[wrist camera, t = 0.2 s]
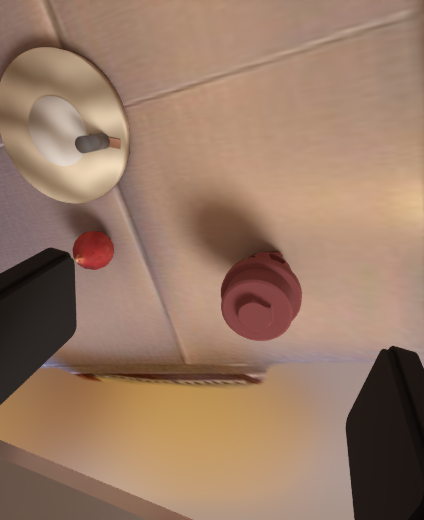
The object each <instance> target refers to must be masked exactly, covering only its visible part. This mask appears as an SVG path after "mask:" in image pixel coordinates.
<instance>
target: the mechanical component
mask: <svg viewBox="0 0 424 520" xmlns="http://www.w3.org/2000/svg"><path fill="white" fill-rule="evenodd" d="M221 299H222V303H221V310H222V315H223V317H224V320H225V321H226V323H227V324H228V326H229V327H230V328H231V329H232V330H233V331H235V332H236V333H237V334H239V335H241V336H242V337H245V338H247V339H251V340H257V341H266V340H271V339H274V338H277V337H279V336H280V335H282V334H283V333H284V332H285V331H286V330H287V329H288V328H289V326H290V324H291V321H292V320H294V318H295V317H296V316H297V314H298V312H299V310H300V307H301V299H302V292H301V286H300V283H299V281H298V279H297V277H296V276H295V274H294V273H293V272H292V271H291V269H290V266H289V265H288V263H287V262H286V261H285V260H284V259H283V258H282V254H281V253H280V252H277V251H276V252H273V253H271V252H260V253H256V254H254V255H252V256H250V257H249V258H247V259H245V260H242V261H240V262H238V263H237V264H235V265H234V266H233V267H232V268H231V269H230V270H229V271H228V273H227V275H226V276H225V278H224V280H223V283H222V287H221Z"/></svg>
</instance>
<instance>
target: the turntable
mask: <svg viewBox="0 0 424 520" xmlns="http://www.w3.org/2000/svg"><path fill="white" fill-rule="evenodd" d="M0 134H1V137H2V140H3V143H4V146H5V148H6V150H7V152H8V154H9V156H10V158H11V160H12V161H13V163H14V165H15V166H16V168H17V169H18V170H19V172H20V173H21V174H22V175H23V176H24V177H25V179H26V180H27V181H28V182H29V183H30V184H32V185H33V186H34V187H35V188H36V189H38V190H39V191H40V192H42V193H44V194H45V195H47V196H49V197H51V198H53V199H56V200H59V201H62V202H67V203H84V202H88V201H91V200H94V199H96V198H98V197H100V196H102V195H104V194H106V193H107V192H109V191H110V190H111V189H112V188H113V187H114V186H115V185H116V184H117V183H118V181H119V180H120V179H121V177H122V175H123V173H124V171H125V169H126V166H127V163H128V158H129V153H130V131H129V124H128V120H127V116H126V112H125V109H124V107H123V104H122V101H121V99H120V97H119V95H118V93H117V92H116V90H115V88H114V87H113V85H112V84H111V82H110V81H109V80H108V78H107V77H106V76H105V75H104V74H103V73H102V72H101V71H100V70H99V69H98V68H97V67H96V66H95V65H94V64H92V63H91V62H90V61H89V60H87V59H85V58H84V57H82V56H80V55H78V54H75V53H73V52H70V51H66V50H62V49H57V48H52V47H40V48H34V49H31V50H28V51H26V52H24V53H22V54H20V55H19V56H18V57H16V58H15V59H14V60H13V61H12V62H11V63H10V65H9V66H8V67H7V69H6V71H5V72H4V74H3V76H2V79H1V81H0Z"/></svg>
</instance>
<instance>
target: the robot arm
mask: <svg viewBox="0 0 424 520" xmlns="http://www.w3.org/2000/svg"><path fill="white" fill-rule="evenodd" d="M75 330H76V295H75V265H74V260H73V259H72V258H71V256H70V254H69V253H68V252H65V251H62V250H58V249H55V248H47V249H45V250H44V251H42V252H40V253H38V254H36V255H34V256H32V257H30V258H29V259H27V260H25V261H23V262H21V263H19V264H17V265H16V266H14V267H12V268H10V269H8V270H6V271H4V272H2V273H1V274H0V405H1V404H2V403H3V402H4V401H5V400H6V399H7V398H8V397H9V396H10V395H11V394H12V393H13V392H14V391H16V390H17V389H18V388H19V387H20V386H21V385H22V384H23V383H24V382H25V381H26V380H27V379H28V378H29V377H30V376H31V375H32V374H33V373H34V372H35V371H36V370H38V369H39V368H40V367H41V366H42V365H43V364H44V363H45V362H46V361H47V360H48V359H49V358H50V357H51V356H52V355H53V354H54V353H55V352H56V351H58V350H59V349H60V348H61V347H62V346H63V345H64V344H65V343H66V342H67V341H68V340H69V339H70V338H71V337H72V336H73V334H74V333H75ZM346 436H347V446H348V457H349V467H350V477H351V488H352V498H353V508H354V518H355V520H424V368H423V366H422V363H421V361H420V359H419V356H418V354H417V353H415V352H413V351H409V350H406V349H402V348H399V347H395V346H391V347H390V348H389V349H388V350H386V349H382V350H381V351H380V353H379V355H378V357H377V359H376V361H375V363H374V365H373V367H372V369H371V371H370V373H369V375H368V377H367V379H366V381H365V383H364V385H363V387H362V389H361V391H360V393H359V395H358V397H357V399H356V401H355V403H354V405H353V407H352V409H351V411H350V413H349V415H348V417H347V421H346ZM0 520H192V519H190V518H188V517H185V516H183V515H180V514H178V513H176V512H173V511H171V510H168V509H166V508H164V507H161V506H159V505H156V504H154V503H152V502H149V501H147V500H144V499H142V498H140V497H137V496H135V495H132V494H130V493H127V492H125V491H122V490H120V489H118V488H115V487H113V486H111V485H108V484H106V483H103V482H101V481H99V480H96V479H93V478H91V477H89V476H86V475H84V474H82V473H79V472H77V471H74V470H72V469H69V468H67V467H65V466H62V465H60V464H57V463H55V462H52V461H50V460H48V459H45V458H43V457H40V456H38V455H35V454H33V453H30V452H28V451H25V450H23V449H21V448H18V447H16V446H13V445H11V444H8V443H6V442H3V441H1V440H0Z"/></svg>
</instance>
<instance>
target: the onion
mask: <svg viewBox="0 0 424 520" xmlns="http://www.w3.org/2000/svg"><path fill="white" fill-rule="evenodd" d="M113 254H114V246H113V243H112V241H111V239H110V238H109V237H108V236H107V235H106V234H104V233H102V232H97V231H90V232H86V233H83V234H82V235H80V236H79V237H78V239H77V240H76V241H75V243H74V247H73V257H74V260H75V261H76V262H77V263H78V265H80V266H82V267H83V268H85V269H92V270H96V269H100V268H102V267H105V266H106V265H107V264H108V263H109V262H110V261H111V259H112V258H113Z"/></svg>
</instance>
